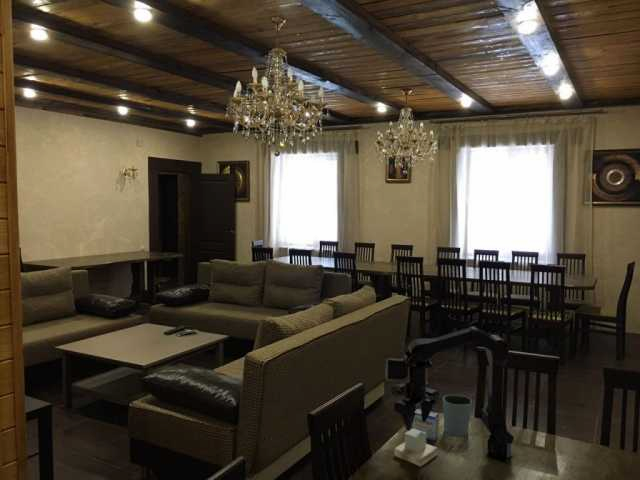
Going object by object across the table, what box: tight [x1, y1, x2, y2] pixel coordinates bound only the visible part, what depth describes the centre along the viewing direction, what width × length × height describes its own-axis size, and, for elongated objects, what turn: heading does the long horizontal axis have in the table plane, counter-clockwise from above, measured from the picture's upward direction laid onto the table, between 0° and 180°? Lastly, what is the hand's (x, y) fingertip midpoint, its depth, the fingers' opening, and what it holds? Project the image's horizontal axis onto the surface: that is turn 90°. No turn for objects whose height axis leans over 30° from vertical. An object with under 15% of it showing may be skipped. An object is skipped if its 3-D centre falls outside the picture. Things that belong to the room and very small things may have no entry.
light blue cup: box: [442, 393, 473, 438], centre depth 192 cm, size 10×10×12 cm
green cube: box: [404, 428, 427, 453], centre depth 175 cm, size 5×5×5 cm
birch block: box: [393, 441, 438, 467], centre depth 175 cm, size 10×10×3 cm
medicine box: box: [412, 408, 440, 441], centre depth 188 cm, size 8×4×9 cm, turn 62°
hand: (416, 425), depth 174 cm, fingers open, 9 cm apart
